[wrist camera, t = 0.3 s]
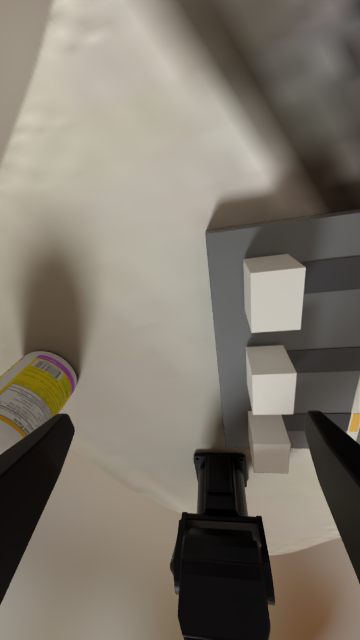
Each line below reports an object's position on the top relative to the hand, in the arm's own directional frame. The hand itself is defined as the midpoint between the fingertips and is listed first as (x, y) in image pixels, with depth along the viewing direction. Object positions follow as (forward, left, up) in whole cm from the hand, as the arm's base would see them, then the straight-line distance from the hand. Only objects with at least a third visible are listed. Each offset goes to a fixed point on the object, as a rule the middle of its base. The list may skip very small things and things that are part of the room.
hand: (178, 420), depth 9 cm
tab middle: (-7, -5, -11) cm, 14 cm away
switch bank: (-7, -8, -14) cm, 17 cm away
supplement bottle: (-8, +18, -14) cm, 24 cm away
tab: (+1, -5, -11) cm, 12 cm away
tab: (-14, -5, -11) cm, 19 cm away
